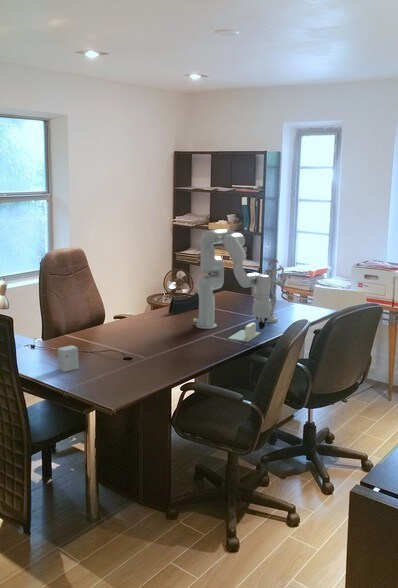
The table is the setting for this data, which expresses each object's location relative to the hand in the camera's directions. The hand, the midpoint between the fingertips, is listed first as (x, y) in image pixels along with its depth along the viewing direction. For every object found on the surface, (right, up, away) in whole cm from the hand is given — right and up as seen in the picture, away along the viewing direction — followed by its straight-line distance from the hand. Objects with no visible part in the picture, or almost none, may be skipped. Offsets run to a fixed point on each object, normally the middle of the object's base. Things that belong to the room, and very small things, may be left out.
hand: (261, 328), depth 331 cm
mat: (-9, -5, +7) cm, 12 cm away
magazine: (-44, +8, +67) cm, 80 cm away
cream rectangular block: (-6, -5, +4) cm, 9 cm away
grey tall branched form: (+11, +3, +44) cm, 46 cm away
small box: (-98, -16, -51) cm, 111 cm away
